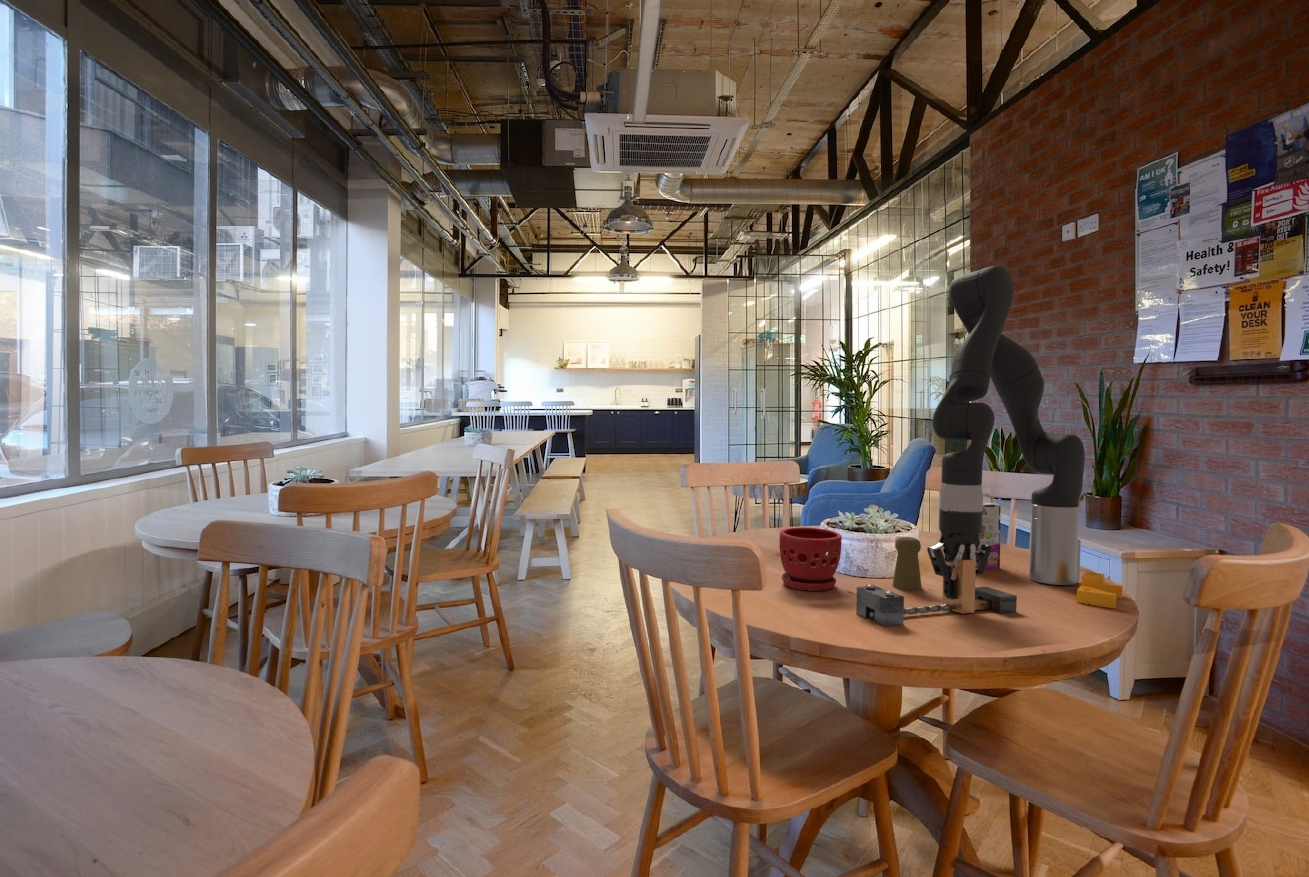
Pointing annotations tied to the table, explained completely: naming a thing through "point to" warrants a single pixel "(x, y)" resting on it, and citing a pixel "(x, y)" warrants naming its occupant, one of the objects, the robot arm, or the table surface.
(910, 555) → the olive keyhole shaped block
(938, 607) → the tie-down chain
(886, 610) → the block
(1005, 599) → the hook
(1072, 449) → the robot arm
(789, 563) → the plant pot
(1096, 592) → the yellow stand
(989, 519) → the candy bar box
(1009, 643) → the table surface
